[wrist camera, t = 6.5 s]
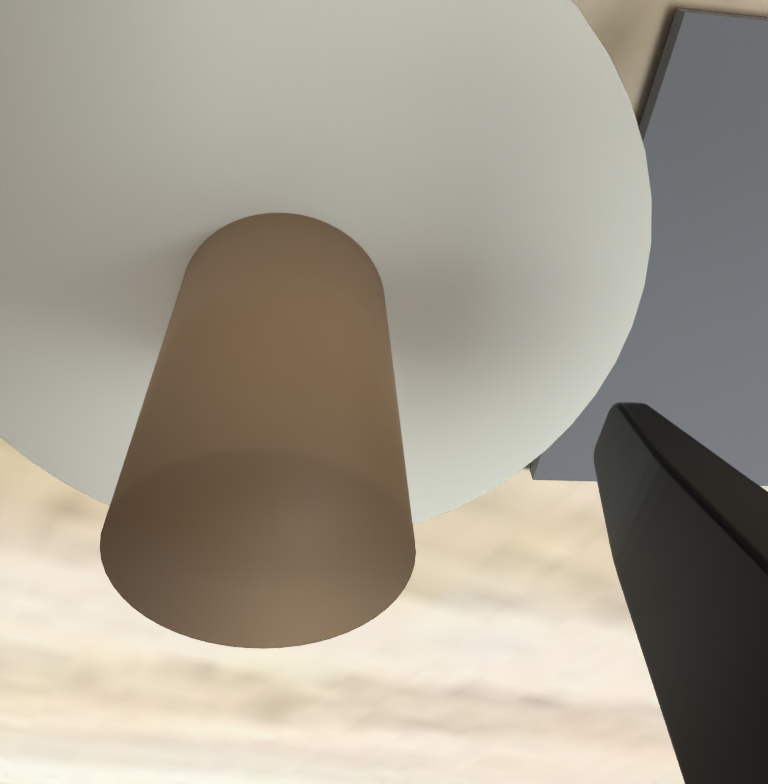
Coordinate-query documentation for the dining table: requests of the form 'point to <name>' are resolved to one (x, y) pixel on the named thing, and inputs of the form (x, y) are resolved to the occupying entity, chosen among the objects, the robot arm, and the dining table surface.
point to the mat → (698, 254)
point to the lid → (304, 280)
